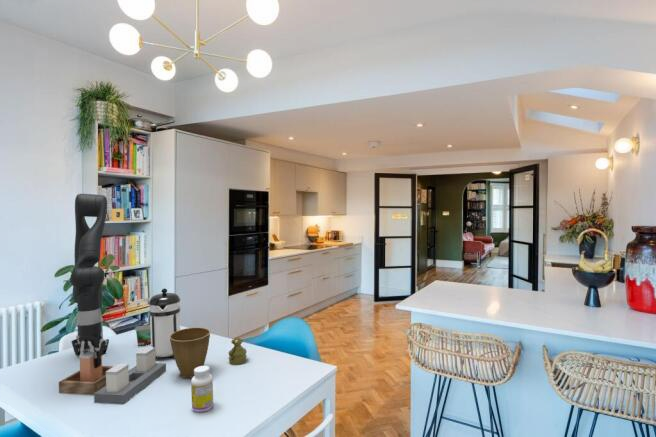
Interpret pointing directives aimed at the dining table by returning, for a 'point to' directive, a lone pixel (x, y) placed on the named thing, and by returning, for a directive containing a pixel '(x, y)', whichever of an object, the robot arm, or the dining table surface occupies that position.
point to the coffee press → (164, 321)
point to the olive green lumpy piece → (237, 352)
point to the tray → (83, 383)
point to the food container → (143, 334)
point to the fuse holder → (130, 385)
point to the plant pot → (190, 349)
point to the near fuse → (117, 378)
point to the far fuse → (145, 359)
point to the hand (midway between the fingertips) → (91, 366)
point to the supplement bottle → (202, 389)
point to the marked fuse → (89, 368)
